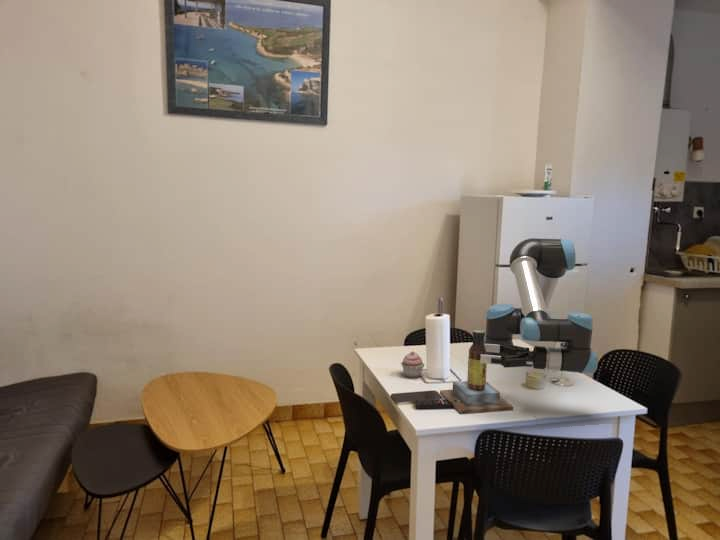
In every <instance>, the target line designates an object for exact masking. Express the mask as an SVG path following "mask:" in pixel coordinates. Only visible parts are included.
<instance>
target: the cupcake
mask: <svg viewBox="0 0 720 540" xmlns="http://www.w3.org/2000/svg"><path fill="white" fill-rule="evenodd" d="M402 359H403V360H402V362H400V364H401V367H402V370H403V376H405V377H406V376H407V377H406V378H409V379H411V378H412V379H416V378H419V376H421V375H422V372H423V369H424V367H425V364H424V362H423V359H422V358H421V356H420V354H419V353H418V352H415V351H414V350H412V351H410V352H409V353H408V354H405V355H404V358H402Z"/></svg>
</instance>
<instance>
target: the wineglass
mask: <svg viewBox="0 0 720 540" xmlns="http://www.w3.org/2000/svg"><path fill="white" fill-rule="evenodd" d="M553 347H556V348H566V342H554V343H553ZM560 372H561V374H560V375H561V376H560V378H553V379H551V383H553V384H554V385H556V386H561V387H570V386H572V385H573V382H572V381H571V380H568V379H565V378H564V372H565V371H560Z"/></svg>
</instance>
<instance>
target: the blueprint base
mask: <svg viewBox="0 0 720 540" xmlns="http://www.w3.org/2000/svg"><path fill="white" fill-rule="evenodd" d="M467 384H468V382H467V380H466V381H465V380H464V381H452V389H442V390H439V394H440V396H442V397H443V398H444V399H445V400H446V399H447V400H449V401H451V402H452V404H453V406H454V407H453V406H452V407H453V408H454V410H455V411H456V412H457V413H458V414H459V415H464V414H465V415H466V414H479V413H493V412H502V411H503V412H504V411H507V412H508V411H513V410H514V405H512V404H511V403H509V402H508V401H507V400H506V399H505V398H503V397H502V396H501V392H500V391H499V390H497V388H495V387H494V386H493V385H492V384H490V383H488V382H487V381H486V384H485V388H484V389H481V390H475V389H471V388H469V387H468V385H467ZM447 400H446V401H447ZM454 400H461V401H462V403H461V402H460V403H458V402H454Z"/></svg>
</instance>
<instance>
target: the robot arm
mask: <svg viewBox="0 0 720 540" xmlns="http://www.w3.org/2000/svg"><path fill="white" fill-rule="evenodd" d="M576 257H577V256H576V249H575V245H574V243H573V241H572V240H570V239H566V238H535V237H533V238H527V239H524V240H522V241H520V242H519V243H517V245H516V246H515V247H514V248H513V250H512V251H511V253H510V257H509V268H510V271H511V273H512V274H513V275H514V277H515V281H516V285H517V289H518V291H517V292H518V294H519V298H520V302H521V303H520V304H521V307H515V305H513V304H511V303H500V304H498V303H497V304H494V305H490V306H489V307H488V308H487V310H486V315H485V318H486V320H485V321H486V323H485V336H484V346H485V349H486V352H487V355H482V354H481V358H480V363H486V364H487V365H488V364H489V365H500V366H503V368H505V369H507V368H520V367H521V368H522V367H523V368H524V367H528V368H532V367H533V369H534V370H544V371H545V369H547V370H548V371H552V372H554V373H555V372H562V371H564V372H569V373H579V374H594V373H595V372H596V371H597V369H598V363H599V362H598V359H599V358H598V353H597V351H596V350H592V348H591V346H592V337H593V331H594V329H593V317H592V316H591V315H590V314H588V313H584V312H576V311H575V312H569V313H568V314H567V317H566V318H552V314H551V312H550V310H549V309H548V308H549V306H550V303H551V300H552V297H553V295H554V293H555V289H556V287H557V285H558V281H559V279H560V278H562V277H564V275H565V274H566V272H567V271H572V270H574V268H575V266H576V260H577V258H576ZM514 335H520V337H521V338H522V339H523V340H524V341H529V342H549V343H550V342H551V343H553V342H554V343H555V342H566V348H556V347H554V346H553V347H552V346H547V347H545V346H541V345H535V346H534V347H533V349H532V351H531V350H530V347H524V346H520V345H519V346H518V345H514V342H513V336H514Z"/></svg>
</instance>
